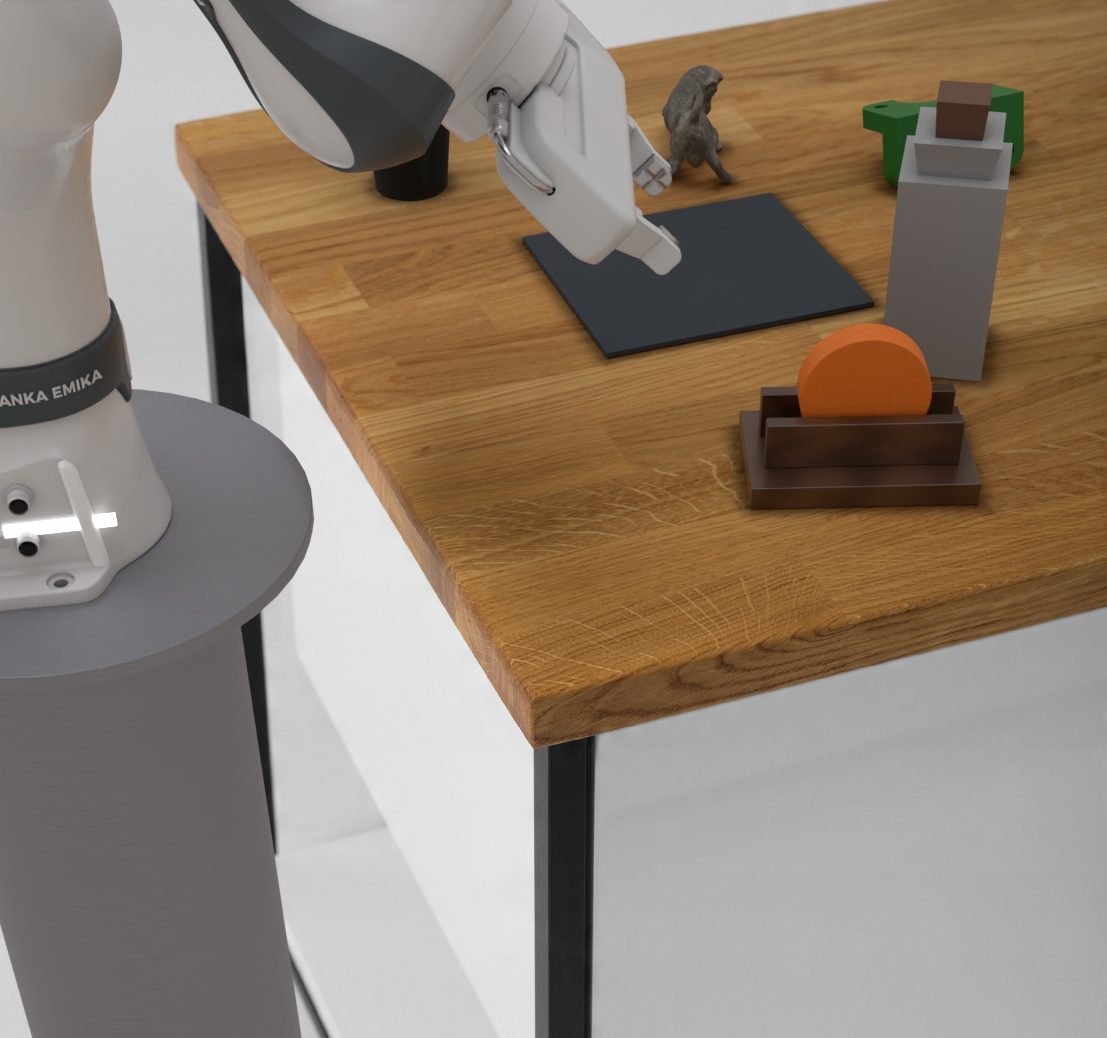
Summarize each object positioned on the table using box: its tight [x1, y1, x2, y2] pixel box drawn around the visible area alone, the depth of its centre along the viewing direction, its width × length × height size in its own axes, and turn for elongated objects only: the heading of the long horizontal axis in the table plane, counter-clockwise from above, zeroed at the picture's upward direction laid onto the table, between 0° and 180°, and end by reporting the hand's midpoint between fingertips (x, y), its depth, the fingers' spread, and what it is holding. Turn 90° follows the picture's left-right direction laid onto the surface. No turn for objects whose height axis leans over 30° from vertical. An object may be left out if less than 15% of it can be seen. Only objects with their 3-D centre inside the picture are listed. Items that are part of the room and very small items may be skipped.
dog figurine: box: [661, 64, 734, 184], centre depth 159 cm, size 12×6×7 cm, turn 178°
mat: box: [521, 192, 876, 359], centre depth 148 cm, size 20×18×1 cm
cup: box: [372, 124, 451, 201], centre depth 155 cm, size 8×8×12 cm
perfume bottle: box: [882, 79, 1013, 382], centre depth 134 cm, size 7×7×18 cm
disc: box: [796, 323, 932, 417], centre depth 126 cm, size 8×2×8 cm, turn 91°
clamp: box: [862, 82, 1025, 188], centre depth 158 cm, size 12×6×9 cm, turn 107°
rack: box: [738, 382, 982, 510], centre depth 128 cm, size 14×9×4 cm, turn 91°
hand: (668, 222), depth 118 cm, fingers open, 8 cm apart
